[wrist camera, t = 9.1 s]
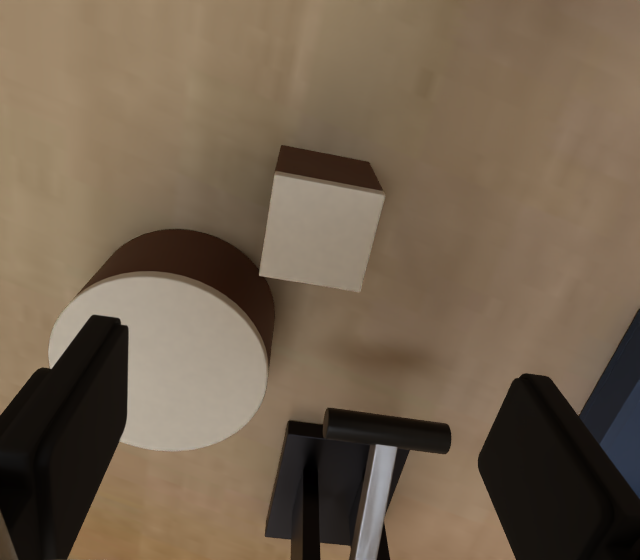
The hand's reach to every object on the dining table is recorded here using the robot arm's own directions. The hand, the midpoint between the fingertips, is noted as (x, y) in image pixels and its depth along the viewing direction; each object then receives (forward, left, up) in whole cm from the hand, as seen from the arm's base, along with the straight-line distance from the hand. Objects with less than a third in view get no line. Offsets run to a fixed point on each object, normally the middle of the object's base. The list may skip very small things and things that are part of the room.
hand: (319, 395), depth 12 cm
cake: (+7, -6, -15) cm, 18 cm away
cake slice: (-1, 0, -15) cm, 15 cm away
